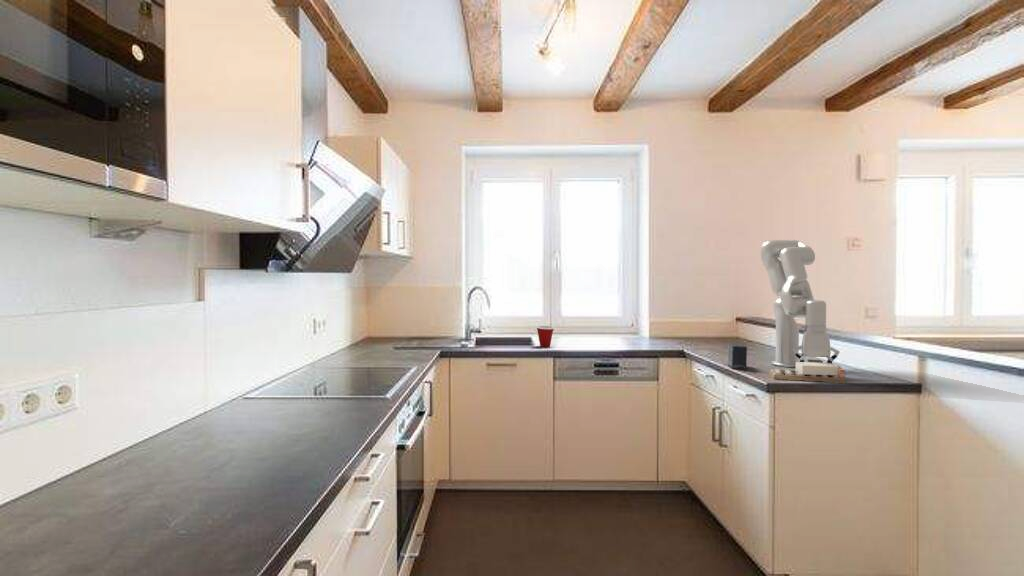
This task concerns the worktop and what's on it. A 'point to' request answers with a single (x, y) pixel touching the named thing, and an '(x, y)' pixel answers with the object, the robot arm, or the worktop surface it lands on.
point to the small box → (737, 356)
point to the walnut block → (814, 360)
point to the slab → (817, 368)
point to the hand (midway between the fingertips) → (815, 369)
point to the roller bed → (808, 376)
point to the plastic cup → (545, 335)
